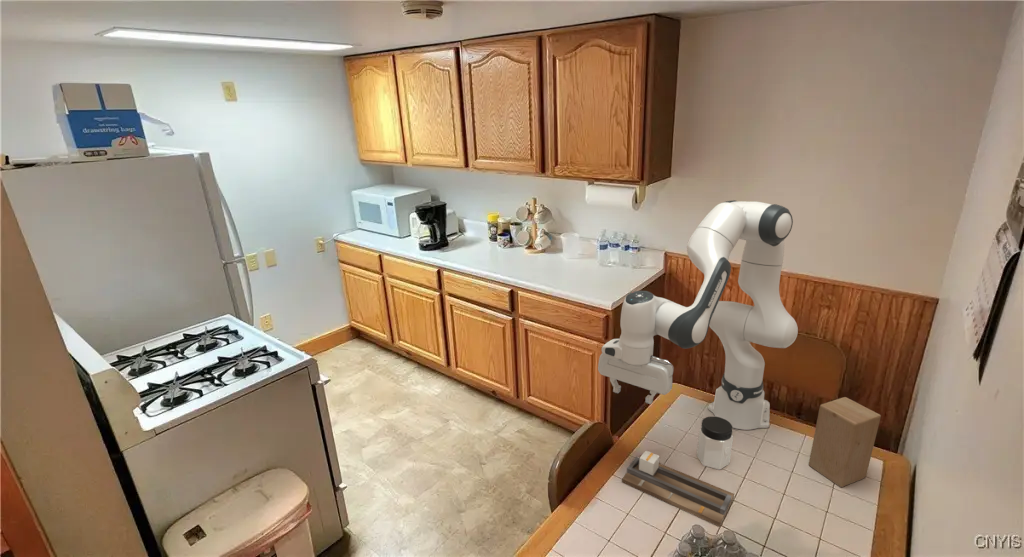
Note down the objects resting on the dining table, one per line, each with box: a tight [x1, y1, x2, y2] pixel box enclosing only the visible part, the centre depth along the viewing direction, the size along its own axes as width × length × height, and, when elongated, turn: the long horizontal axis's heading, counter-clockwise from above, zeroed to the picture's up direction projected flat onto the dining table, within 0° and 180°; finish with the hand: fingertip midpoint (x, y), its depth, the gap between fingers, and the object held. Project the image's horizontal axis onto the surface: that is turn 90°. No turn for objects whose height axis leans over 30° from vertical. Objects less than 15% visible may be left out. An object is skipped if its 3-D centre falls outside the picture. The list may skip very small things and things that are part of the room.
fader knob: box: [639, 450, 660, 477], centre depth 137 cm, size 4×4×6 cm
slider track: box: [621, 455, 735, 528], centre depth 133 cm, size 12×26×3 cm, turn 52°
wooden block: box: [808, 396, 882, 488], centre depth 135 cm, size 10×10×20 cm
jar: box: [696, 415, 734, 470], centre depth 143 cm, size 9×8×12 cm
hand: (632, 397), depth 137 cm, fingers open, 8 cm apart
